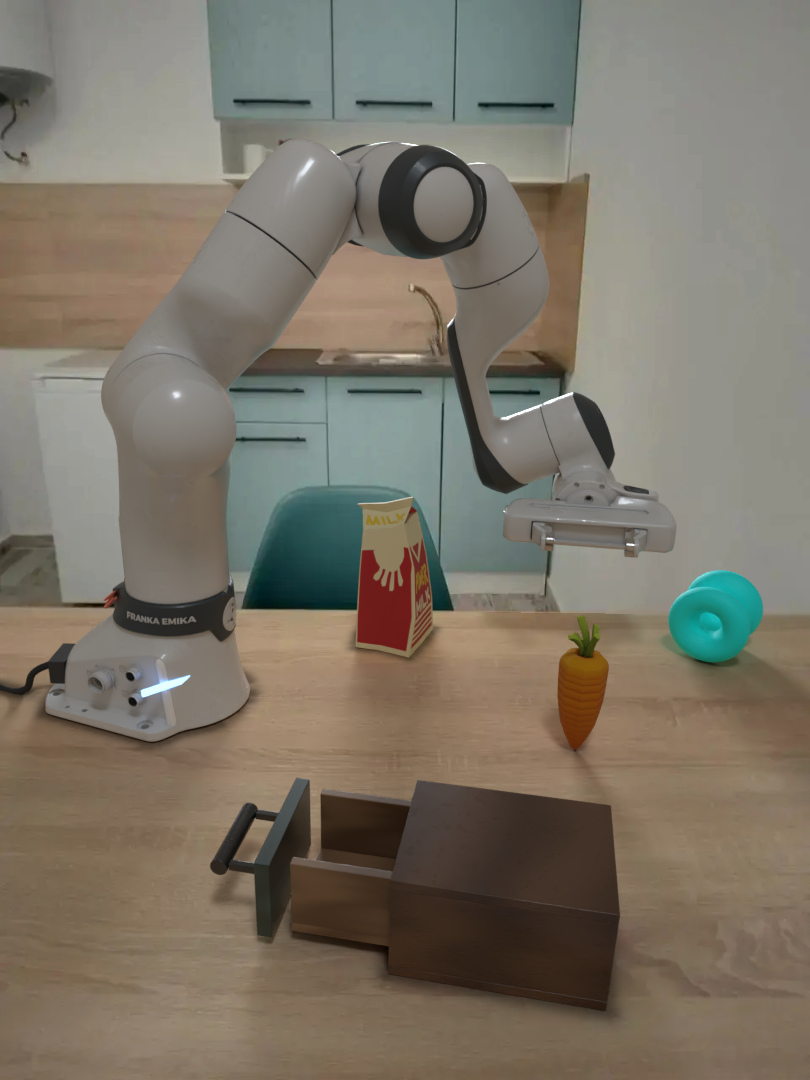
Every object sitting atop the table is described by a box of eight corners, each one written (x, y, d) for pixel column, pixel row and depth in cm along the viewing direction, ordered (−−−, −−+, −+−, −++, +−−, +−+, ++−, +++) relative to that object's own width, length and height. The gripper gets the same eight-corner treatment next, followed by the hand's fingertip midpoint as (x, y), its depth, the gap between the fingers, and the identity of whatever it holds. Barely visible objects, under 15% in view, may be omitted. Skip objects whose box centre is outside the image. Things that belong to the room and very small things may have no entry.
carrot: (598, 765, 85) (615, 634, 80) (549, 759, 86) (562, 629, 81) (598, 738, 90) (613, 613, 84) (551, 732, 90) (564, 608, 85)
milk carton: (433, 628, 114) (438, 488, 107) (411, 658, 105) (416, 509, 98) (371, 617, 116) (372, 480, 109) (345, 646, 108) (345, 500, 101)
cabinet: (388, 974, 61) (390, 880, 58) (414, 863, 71) (417, 779, 68) (606, 1011, 58) (620, 915, 55) (599, 890, 69) (611, 804, 66)
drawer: (204, 927, 63) (198, 855, 61) (251, 835, 73) (248, 770, 70) (447, 967, 60) (452, 893, 58) (463, 867, 70) (467, 800, 67)
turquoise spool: (660, 652, 109) (670, 582, 105) (684, 625, 116) (694, 559, 113) (739, 675, 103) (752, 603, 100) (758, 646, 111) (771, 577, 108)
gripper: (506, 481, 107) (498, 514, 94) (670, 491, 104) (685, 528, 91) (503, 527, 109) (495, 566, 96) (664, 539, 106) (677, 581, 93)
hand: (589, 547), depth 94 cm, fingers open, 8 cm apart
